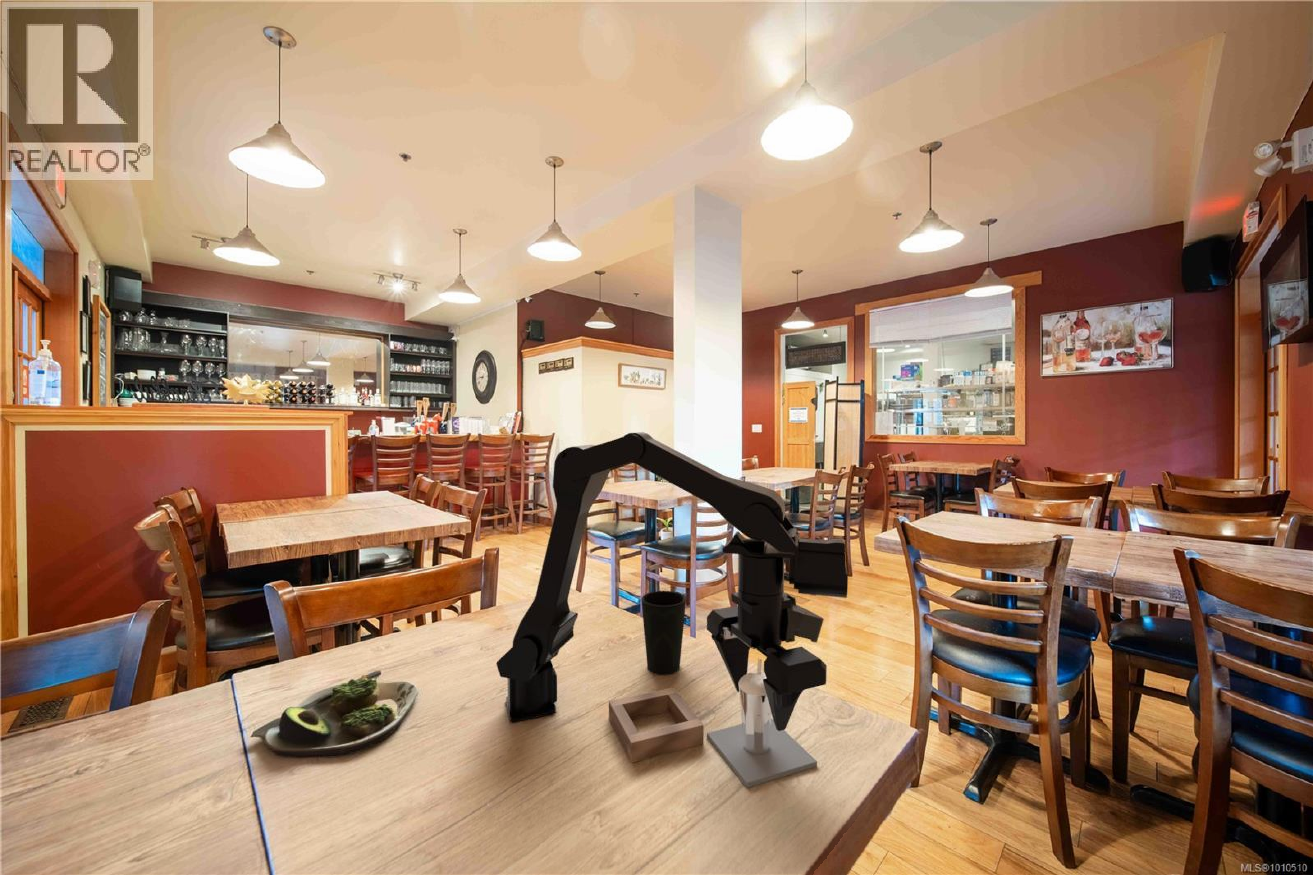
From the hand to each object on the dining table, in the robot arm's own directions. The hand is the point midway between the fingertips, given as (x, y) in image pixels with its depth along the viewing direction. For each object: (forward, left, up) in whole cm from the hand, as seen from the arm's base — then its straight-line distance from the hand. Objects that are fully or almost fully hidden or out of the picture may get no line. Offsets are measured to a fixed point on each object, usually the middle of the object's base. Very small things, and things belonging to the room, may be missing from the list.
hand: (759, 709), depth 64 cm
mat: (0, 0, -6) cm, 6 cm away
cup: (-3, +25, -6) cm, 26 cm away
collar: (-11, +9, -6) cm, 15 cm away
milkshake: (0, 0, -5) cm, 5 cm away
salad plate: (-51, +27, -6) cm, 58 cm away
